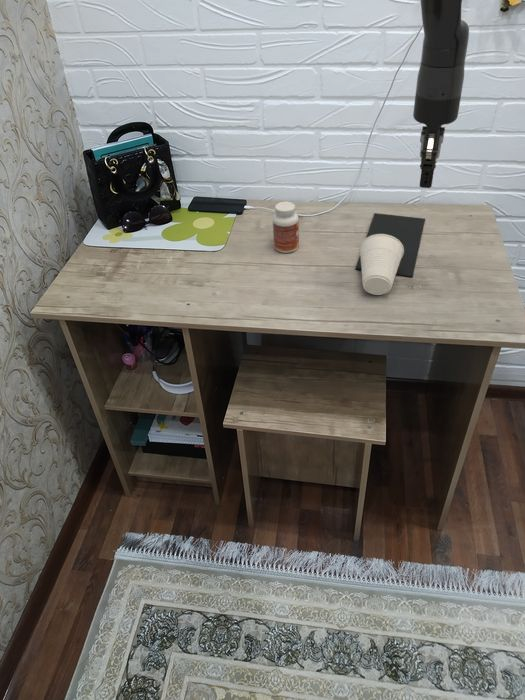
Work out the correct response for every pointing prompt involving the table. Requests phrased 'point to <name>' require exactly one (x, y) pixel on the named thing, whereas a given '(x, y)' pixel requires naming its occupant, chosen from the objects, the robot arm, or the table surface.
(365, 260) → the cup
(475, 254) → the table surface
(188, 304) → the table surface
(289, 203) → the pill bottle
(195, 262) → the table surface
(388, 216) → the mat
